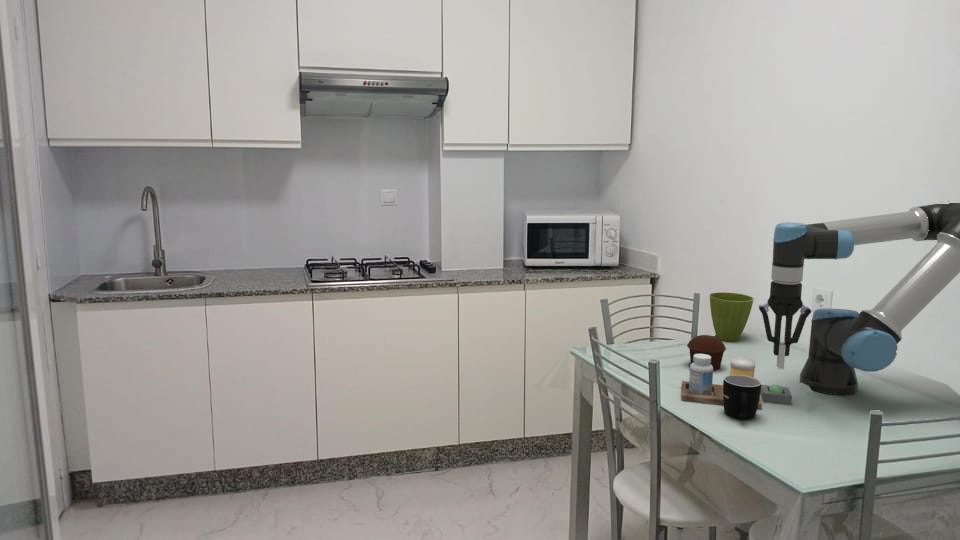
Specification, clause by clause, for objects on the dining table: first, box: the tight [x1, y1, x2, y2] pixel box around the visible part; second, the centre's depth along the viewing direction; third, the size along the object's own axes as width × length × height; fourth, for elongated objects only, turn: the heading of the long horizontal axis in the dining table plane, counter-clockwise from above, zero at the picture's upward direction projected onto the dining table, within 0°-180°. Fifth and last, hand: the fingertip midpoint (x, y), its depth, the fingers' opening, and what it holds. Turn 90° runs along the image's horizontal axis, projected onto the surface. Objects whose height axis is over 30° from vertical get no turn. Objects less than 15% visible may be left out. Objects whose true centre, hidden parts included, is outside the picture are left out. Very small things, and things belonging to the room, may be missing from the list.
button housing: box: [760, 384, 793, 406], centre depth 178 cm, size 7×7×4 cm
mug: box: [722, 374, 762, 421], centre depth 166 cm, size 12×9×10 cm
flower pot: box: [709, 291, 754, 343], centre depth 238 cm, size 15×15×16 cm
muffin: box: [686, 334, 727, 372], centre depth 207 cm, size 12×11×10 cm
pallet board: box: [680, 380, 763, 411], centre depth 179 cm, size 20×12×2 cm, turn 73°
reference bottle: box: [729, 356, 756, 378], centre depth 177 cm, size 6×6×11 cm
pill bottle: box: [688, 354, 714, 396], centre depth 180 cm, size 6×6×11 cm
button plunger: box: [769, 384, 784, 393], centre depth 178 cm, size 3×3×4 cm
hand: (780, 366), depth 177 cm, fingers closed
